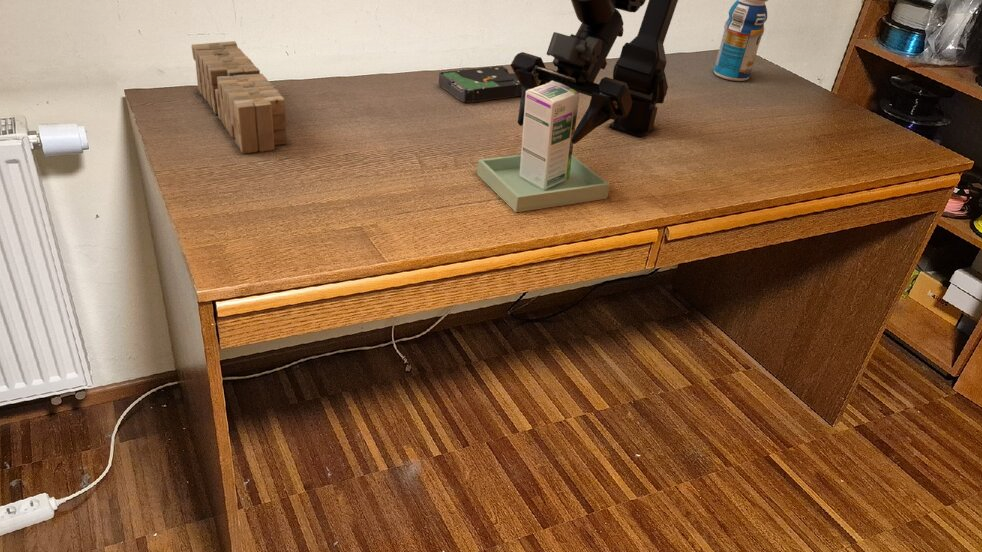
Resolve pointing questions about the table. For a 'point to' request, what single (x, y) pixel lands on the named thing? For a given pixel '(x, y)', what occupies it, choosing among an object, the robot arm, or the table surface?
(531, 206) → the tray
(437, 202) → the table surface
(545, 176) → the syrup box
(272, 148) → the block tower
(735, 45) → the beverage bottle
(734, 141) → the table surface
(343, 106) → the table surface
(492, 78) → the disk drive
